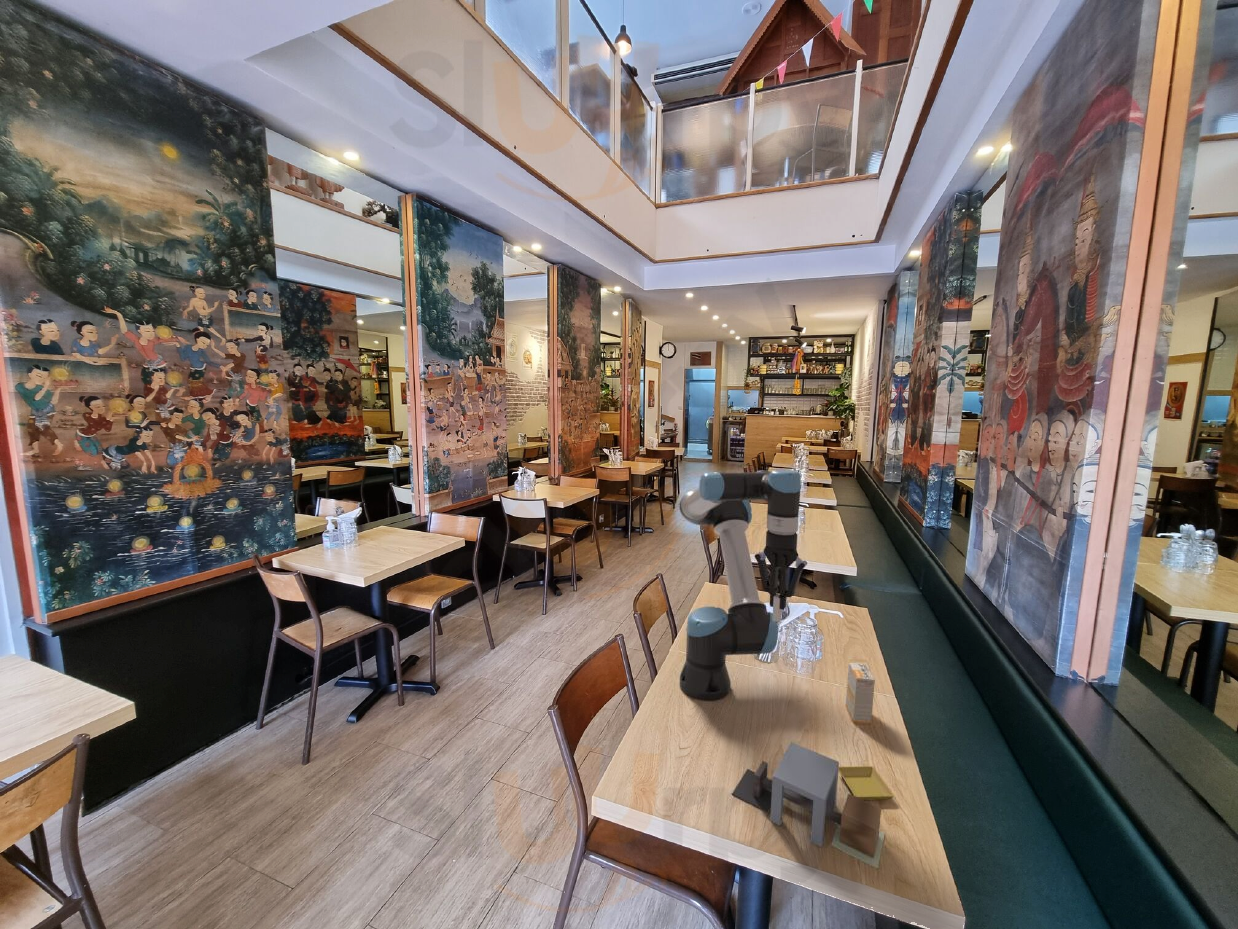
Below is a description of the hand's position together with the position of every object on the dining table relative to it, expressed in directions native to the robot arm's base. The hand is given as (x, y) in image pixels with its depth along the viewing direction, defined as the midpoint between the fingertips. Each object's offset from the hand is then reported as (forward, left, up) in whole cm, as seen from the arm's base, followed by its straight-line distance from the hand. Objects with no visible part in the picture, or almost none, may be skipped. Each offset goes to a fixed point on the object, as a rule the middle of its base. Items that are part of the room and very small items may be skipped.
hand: (777, 619), depth 126 cm
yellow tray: (+24, -9, -30) cm, 39 cm away
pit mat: (+5, -24, -29) cm, 38 cm away
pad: (+25, -24, -29) cm, 46 cm away
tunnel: (+15, -24, -29) cm, 41 cm away
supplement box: (+18, +18, -30) cm, 39 cm away
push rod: (+17, -24, -29) cm, 41 cm away
